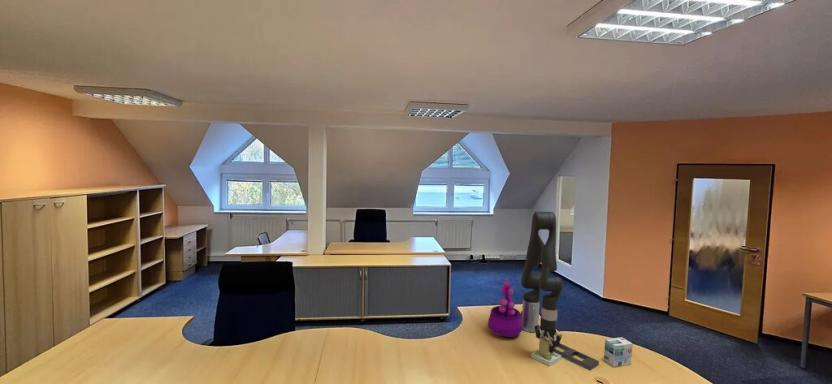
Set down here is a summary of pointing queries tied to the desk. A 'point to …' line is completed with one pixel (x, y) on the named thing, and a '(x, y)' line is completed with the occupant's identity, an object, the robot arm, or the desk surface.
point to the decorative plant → (505, 315)
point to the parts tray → (545, 360)
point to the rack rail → (569, 353)
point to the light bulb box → (618, 352)
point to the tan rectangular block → (545, 347)
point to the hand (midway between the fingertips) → (546, 349)
